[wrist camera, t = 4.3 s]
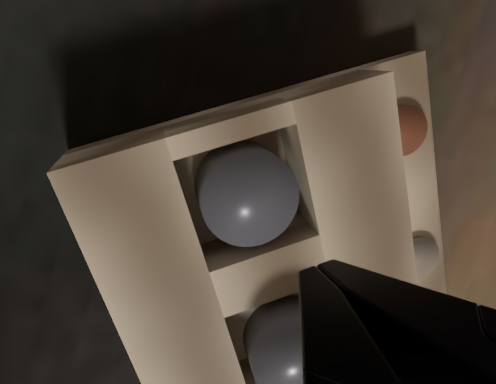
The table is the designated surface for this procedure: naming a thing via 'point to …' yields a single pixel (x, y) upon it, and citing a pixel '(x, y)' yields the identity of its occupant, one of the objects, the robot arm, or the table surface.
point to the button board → (275, 251)
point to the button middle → (275, 342)
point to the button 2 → (246, 193)
